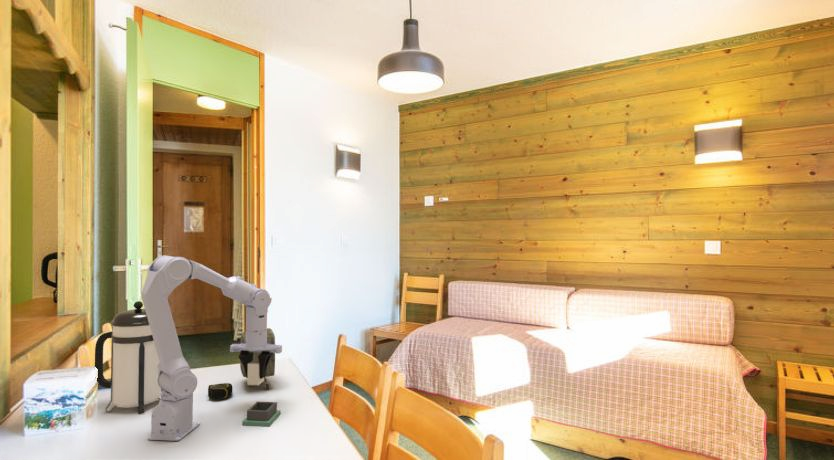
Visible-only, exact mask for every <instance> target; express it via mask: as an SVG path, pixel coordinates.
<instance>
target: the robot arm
mask: <svg viewBox="0 0 834 460" xmlns="http://www.w3.org/2000/svg"><path fill="white" fill-rule="evenodd" d="M146 271H147V272H146V277H145V281H144V284H143V287H142V290H141V299H142V303H143V306H144V309H145V311H146V314H147V318H148V322H149V325H150V329H151V332H152V336H153V339H154V343H155V347H156V350H157V354H158V357H159V361H160V362H159V364H158V371H159V374H158V378H157V383H158V385H159V387H160V388H161V389H162V392H161V395H160V397H159V398H160V400H159V401H158V402H159V403H158V404H157V405H156V406H155V407H154V409H153V410H152V413H151V419H150V420H151V421H150V423H151V425H150V426H151V427H150V431H151V432H150V434H151V435H149V436H148V437H147V440H149V441H151V440H152V441H173V442H179V441H181V440H182V439H183V438H184V437H185V436H188V434H190V433H191V432H193V430H195V429H196V428H197V427H199V426H200V425H201V422H195V421H193V416H194V415H193V414H194V413H193V410H194V409H193V407H194V405H193V404H194V395H193V394H194V392H195V391H196V389H197V387H198V377H197V376H196V374H195V373H193V372H192V371H191V368H190V365H189V363H188V362H187V360H186V359H185V357H184V354H183V352H182V348H181V347H182V346H181V344H180V340H179V337H178V332H177V329H176V325H175V322H174V318H173V315H172V314H173V313H172V310H171V306H170V304H169V299H168V298H169V296H170V295H171V293H173V291H174V290H175V289H176V288H177V287H179V286H180V285H181V284H182V283H184V282H185V281H186V280H194V279H195V280H196V279H197V280H199V281H202V282H205V283H206V284H210V285H212V286H213V287H214V286H215V287H216V288H219V289H220V290H221V292H222V295H223V296H225V297H227V298H230V299H232V300H234V301H236V302H237V303H238V302H239V303H241V304H243V306H245V307H246V308H245V331H246V344H240V343H232V344H231V345H229V347H230V348H229V352H230V353H235V352H236V353H237V352H238V353H239V354H238V359H239V361H240V360H241V362H242V364H243V366H244V369H245V372H246V377H247V378H246V377H245V378H246V379H248V363H250V362H251V361H252V360H253V355H254V352H262V354H259V355H258V359H259V366H260V371H259V376H260V379H262V378H264V377H265V372H266V368H267V365H268V363H269V360H270V358H271V356H272V354H273V353H275V354H280V353H282V352H283V345H282V344H275V345H274V344H267V328H268V312H269V307H270V305H271V303H272V300H273V299H272V297H271V295H270V293H269V291H267V290H266V289H265V288H264V289H262V288H258V287H257V284H256V283H252V284H251V283H249V282H247V281H245V280H244V278H243V277H242V276H239V275H237V276H235V275H234V276H230V277H226V276H224V275H222V274H220V273H218V272H216V271H214V270H213V269H211V268H209V267H207V266H205V265H204V264H202V263H199V262H196V261H194V260H191V259H187V258H186V257H183V256H171V255H168V254H165V255H164V254H162V255H160V256H158V257H156V258H155V259H154V260H153V261H152V262H151V263H150V265H148V267H147V269H146ZM240 352H241V353H240Z"/></svg>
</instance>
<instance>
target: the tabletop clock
mask: <svg viewBox="0 0 834 460" xmlns="http://www.w3.org/2000/svg"><path fill="white" fill-rule="evenodd" d="M239 344H246V330H245V331H243V332H241V333H240V342H239ZM267 344H274V345H276V336H275V333H274V330H273V329H271V328H269V327H267ZM240 353H241V352H239V354H240ZM259 354H262V352H254V355H253V360H254V359H258V355H259ZM239 362H240V364H239V365H240V372H241V375H242V377H243V378H246V379H248V378H247V377H246V372H245V369H244V366H243V364H242V362H241V360H240V359H239ZM275 369H276V353H273V354H272V356H271V358H270V360H269V363H268V365H267V368H266V372H265V377H264V381H263V382H264V384H265V387H264V388H265V389H266V390H269V389H271V387H272V386H271V384H270V383H268V381H267V379H266V377H274V376H275V374H276V373H275V372H276V370H275ZM252 386H253V385H247V387H252Z"/></svg>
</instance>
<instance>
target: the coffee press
mask: <svg viewBox="0 0 834 460" xmlns="http://www.w3.org/2000/svg"><path fill="white" fill-rule="evenodd" d="M143 306H144V304H143V301H140V300H139V301H135V302H134V304H133V307H134V308H133V309H128V310H124V311H120V312H119V313H117V314H116V315H115V316H114V317H113V319H112V320H111V322H110V325H111V327H112V331H108V332H104V333H101V334H100V336H98V338H97V340H96V342H95V345H94V346H95V348H94V368H95V367H96V368H97V369H98V378H97V380H96V382H97V384H99V386H101V387H102V388H105V389H110V400H109V402H108V403H107V405H106V406H105V408H104V409H105V412H106V413H111V412H112V411H113V410H114V409H117V408H124V409H125V408H128V409H130V408H137V413H138V415H141V414H145V412H146V410H145V406H146V405H149V404H152V403H153V402H155V401H157V400H159V401H160V398H161V392H162V389H161V388H160V387H159V385H158V383H157V378H158V374H159V371H158V364H159V362H160V361H159V357H158V354H157V350H156V347H155V343H154V339H153V336H152V332H151V329H150V325H149V322H148V318H147V314H146V311H145V308H143ZM108 339H111V347H110V349H111V352H110V353H111V354H110V355H111V356H110V359H111V360H110V361H111V362H110V380H107V379H106V378H105V376H104V345H105V342H106V341H107V340H108ZM111 404H113V406H112V407H111V408H110V409H109V410H108V408H109V407H110V406H111Z"/></svg>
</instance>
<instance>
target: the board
mask: <svg viewBox="0 0 834 460" xmlns="http://www.w3.org/2000/svg"><path fill="white" fill-rule="evenodd" d="M277 407H278V402H277V401H276V402H275V401H256V402H255V403H254V404H253V405H252V406H250V407H249V408H248V409H247V410H246V417H245V418H244V419H243V420H242V423H241V424H242V425H241V426H245V427H246V426H248V427H271V425H272V424H273V423H274V422H275V421H276V419H277V418H279V416H280V415H281V412H282V410H280V409H278V408H277Z"/></svg>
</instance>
